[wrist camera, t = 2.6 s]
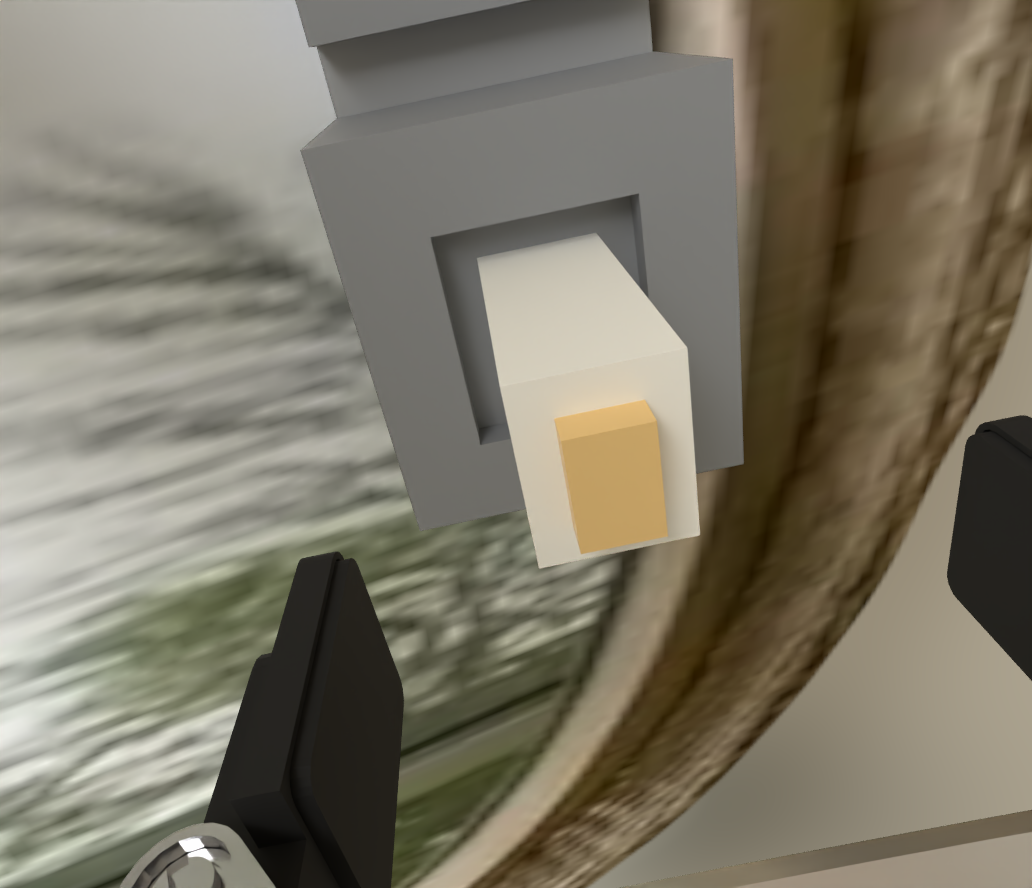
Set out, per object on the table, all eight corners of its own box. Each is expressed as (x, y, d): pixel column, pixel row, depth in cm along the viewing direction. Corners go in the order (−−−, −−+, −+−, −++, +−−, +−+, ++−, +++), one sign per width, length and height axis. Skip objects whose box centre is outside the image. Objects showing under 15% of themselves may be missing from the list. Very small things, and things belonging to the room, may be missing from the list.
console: (172, -485, 17) (-13, -845, 10) (593, -578, 17) (703, -1007, 10) (424, 411, 29) (420, 531, 22) (669, 360, 29) (743, 464, 22)
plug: (476, 258, 19) (503, 408, 11) (596, 232, 19) (702, 367, 11) (505, 392, 21) (544, 596, 13) (613, 369, 21) (713, 561, 13)
